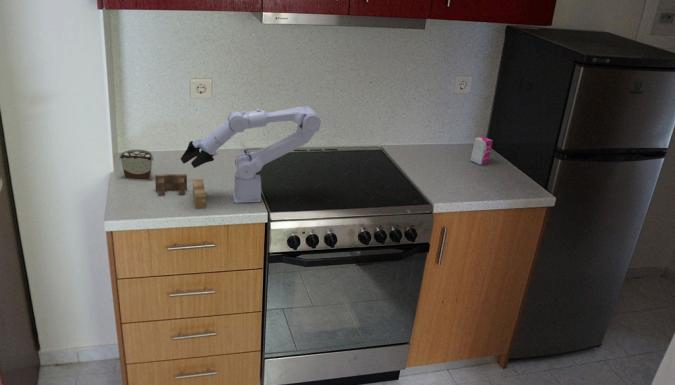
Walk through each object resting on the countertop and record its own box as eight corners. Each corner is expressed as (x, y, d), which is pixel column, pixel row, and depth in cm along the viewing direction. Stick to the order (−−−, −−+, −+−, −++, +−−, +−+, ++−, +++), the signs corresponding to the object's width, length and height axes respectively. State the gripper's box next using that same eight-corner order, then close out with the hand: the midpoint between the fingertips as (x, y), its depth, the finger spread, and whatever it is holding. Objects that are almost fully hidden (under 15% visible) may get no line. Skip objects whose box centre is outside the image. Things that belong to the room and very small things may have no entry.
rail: (193, 191, 220) (192, 179, 218) (202, 191, 221) (202, 178, 218) (195, 209, 207) (195, 196, 205) (205, 208, 208) (205, 195, 206)
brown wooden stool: (187, 188, 221) (186, 173, 218) (187, 194, 216) (187, 179, 214) (155, 189, 218) (155, 174, 215) (155, 195, 213) (154, 180, 211)
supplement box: (480, 166, 267) (485, 141, 262) (469, 161, 271) (474, 137, 266) (488, 163, 270) (493, 139, 266) (478, 159, 274) (482, 135, 270)
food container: (158, 174, 230) (157, 150, 226) (154, 180, 225) (152, 156, 220) (125, 172, 229) (123, 147, 225) (120, 178, 224) (118, 153, 220)
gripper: (219, 135, 213) (191, 159, 215) (201, 124, 200) (171, 150, 201) (230, 149, 212) (201, 174, 213) (212, 139, 198) (181, 165, 199)
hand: (187, 163), depth 207 cm, fingers open, 7 cm apart
